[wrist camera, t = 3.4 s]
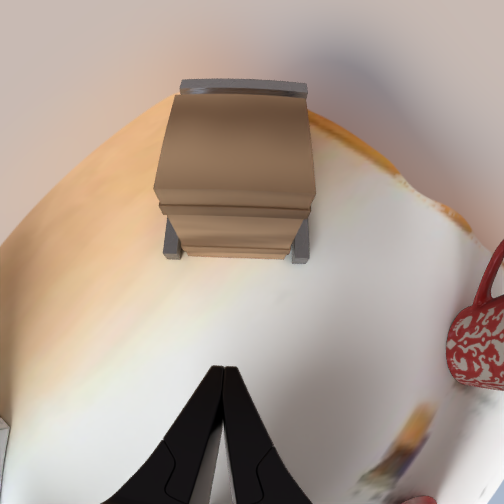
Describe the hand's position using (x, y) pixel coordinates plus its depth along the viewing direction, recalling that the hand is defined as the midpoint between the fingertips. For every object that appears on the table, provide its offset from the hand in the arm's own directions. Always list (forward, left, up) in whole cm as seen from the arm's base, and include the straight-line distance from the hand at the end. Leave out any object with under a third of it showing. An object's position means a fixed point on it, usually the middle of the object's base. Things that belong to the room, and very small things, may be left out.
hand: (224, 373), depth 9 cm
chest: (+3, -10, -11) cm, 15 cm away
